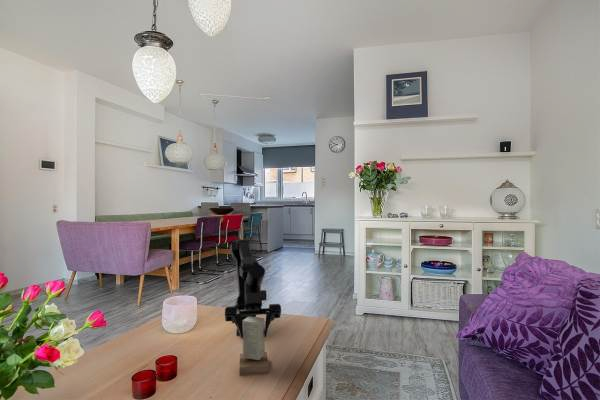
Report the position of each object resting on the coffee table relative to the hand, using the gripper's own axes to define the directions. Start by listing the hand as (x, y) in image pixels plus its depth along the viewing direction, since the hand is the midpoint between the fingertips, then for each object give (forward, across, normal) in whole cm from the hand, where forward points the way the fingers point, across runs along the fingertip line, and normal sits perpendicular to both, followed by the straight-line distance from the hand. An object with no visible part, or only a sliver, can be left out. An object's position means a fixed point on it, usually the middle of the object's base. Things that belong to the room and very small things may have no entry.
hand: (253, 337), depth 104 cm
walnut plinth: (+6, 0, +8) cm, 10 cm away
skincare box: (+4, 0, +6) cm, 7 cm away
